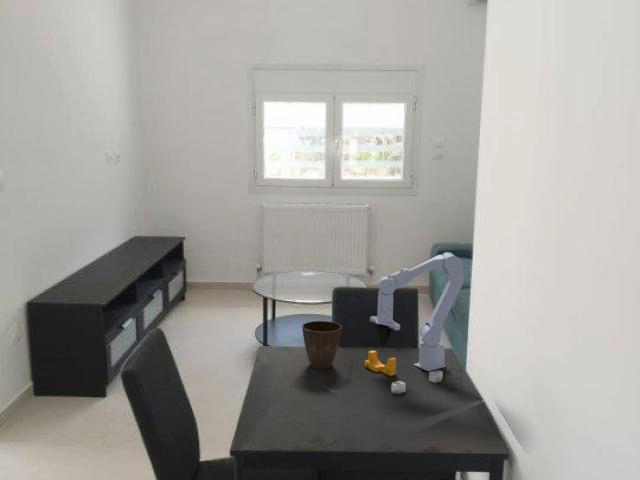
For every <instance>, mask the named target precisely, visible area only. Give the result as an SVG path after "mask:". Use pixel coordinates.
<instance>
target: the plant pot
mask: <svg viewBox="0 0 640 480" xmlns="http://www.w3.org/2000/svg"><path fill="white" fill-rule="evenodd" d="M342 328H343V326H342V325H341V324H340V323H336V322H333V321H325V320H315V321H307V322H305V323H303V324H302V326H301V329H302V336H303V342H304V347H305V353H306V354H307V355H306V356H307V359H308V362H309V365H310V366H311V367H312V368H313V369H315V370H327V369H329V368H331V367H332V365H333V362H334V360H335V356H336V354H337V352H338V348H339V344H340V339H341V334H342Z"/></svg>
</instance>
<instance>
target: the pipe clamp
mask: <svg viewBox="0 0 640 480" xmlns="http://www.w3.org/2000/svg"><path fill="white" fill-rule="evenodd" d="M364 367H365V368H368V369H369V370H370V371H373V372H376V373H379V372H381V373H383V374H386V375H387V376H390V377H391V376H394V375H397V358H395V357H390V358H387V362H386V364H383V363H382V362H381V361H380V359H379V357H378V351H376V350H373V349H372V350H369V351H368V355H367V360H364Z"/></svg>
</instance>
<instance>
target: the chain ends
mask: <svg viewBox="0 0 640 480" xmlns="http://www.w3.org/2000/svg"><path fill="white" fill-rule="evenodd" d="M428 381H429V382H431V383H434V384H436V383H439V382H443V371H442V370H438V369H436V370H432V371H428ZM406 385H407V384H406V382H404V381H402V380H397V381H393V382H391V385H390V387H391V388H390V392H391V394H394V395H400V394H402V393H403V394H404V393H405V392H406V389H407V388H406V387H407V386H406Z"/></svg>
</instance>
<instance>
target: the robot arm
mask: <svg viewBox="0 0 640 480" xmlns="http://www.w3.org/2000/svg"><path fill="white" fill-rule="evenodd" d="M434 270H436V271H442V272H443V271H444V272H446V276H447V278H448V281H447V284H446V285H445V287H444V289H443V291H442V294H441V296H440V298H439V300H438V302H437V303H436V306H435V308H434V309H433V311H432V314H431V315H430V317H429V318H428V319H427V320H426V322H425V323H424V324H423V325H421V326H420V329H419V334H420V337H421V340H420V341H419V353H418V354H419V356H418V362H417V363H414V364H413V366H415V367H418V368H420V369H423V370H425V371H428V372H432V371H436V370H438V369H439V370H440V369H441V368H446V364H445V359H446V357H445V355H446V349H445V346H444V344H443V343H441V342H440V341H441V339H442V338H441V337H442V333H443V328H444V327H443V326H444V323H445V320H446V318H447V317H448V314H449V313H450V311H451V308H452V307H453V305H454V303H455V301H456V299H457V296H458V295H459V292H460V290H461V289H462V287H463V284H464V281H465V278H464V277H465V276H464V265H463V262H462V260H461V258H459V256H456V255H454V253H452V252H449V251H446V252H443V253H442V254H437V255H435V256H433V257H432V258H431V259H428V260H426V261H424V262H422V263H420V264H418V265H416V266H414V267H412V268H410V269H409V268H406V267H404V268H403V267H401V268H399V269H398V271H396V272H394V273H391V274H390V273H389V274H387V276H382V277H380V278H379V279H378V282H377V285H376V286H377V288H378V293H377V294H378V296H377V313H376V314H377V315H376V316H375V315H372V316H370V318H369V321H370V322H371V323H375V324H377V325H375V330H376V332H377V335H378V336H379V341H380V345H382V346H385V345H388V342H389V339H390V336H391V334H392V333H393V330H394V331H399V330H401V324H400V323H398V322H395V320H393V317H394V316H393V315H394V292H395V291H396V290H398V289H400V288H402V287H404V286H406V285H408V284H410V283H413V281H414V278H416V277H419V276H421V275H424V274H425V273H428V272H431V271H434ZM370 322H369V323H370Z"/></svg>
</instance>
